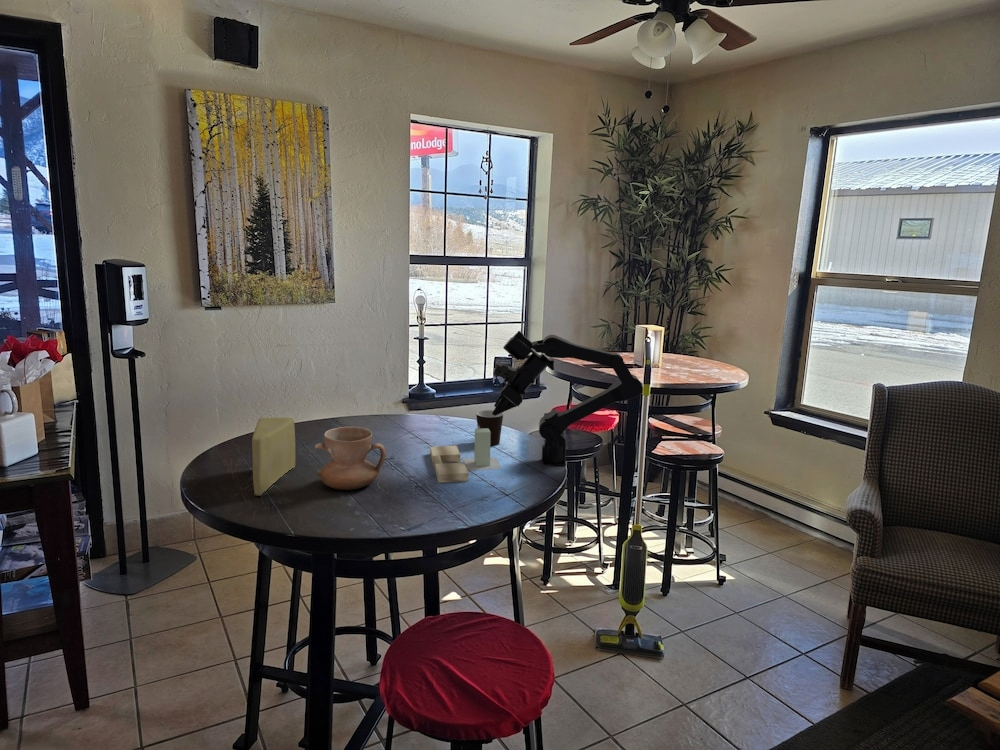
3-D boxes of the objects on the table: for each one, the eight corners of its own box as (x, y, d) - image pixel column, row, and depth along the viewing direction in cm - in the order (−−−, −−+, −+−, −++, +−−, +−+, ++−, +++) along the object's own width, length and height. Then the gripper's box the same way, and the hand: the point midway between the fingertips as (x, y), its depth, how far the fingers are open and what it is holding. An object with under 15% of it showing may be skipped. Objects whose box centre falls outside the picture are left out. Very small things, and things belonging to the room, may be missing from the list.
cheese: (278, 497, 159) (275, 439, 156) (237, 498, 158) (233, 440, 155) (297, 467, 181) (294, 415, 178) (261, 467, 180) (258, 416, 177)
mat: (496, 458, 191) (496, 457, 191) (502, 470, 182) (502, 469, 182) (463, 459, 190) (463, 458, 190) (466, 471, 180) (466, 470, 180)
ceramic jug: (311, 495, 161) (310, 441, 158) (319, 474, 175) (318, 424, 172) (384, 494, 163) (384, 441, 160) (386, 474, 177) (387, 424, 174)
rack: (456, 453, 195) (456, 445, 195) (468, 481, 172) (468, 472, 172) (430, 454, 194) (430, 446, 193) (438, 483, 171) (438, 474, 170)
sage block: (487, 461, 188) (488, 428, 186) (489, 465, 184) (490, 432, 182) (474, 461, 187) (474, 428, 185) (476, 466, 183) (476, 432, 181)
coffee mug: (500, 448, 200) (501, 417, 198) (473, 447, 202) (473, 416, 200) (506, 438, 212) (506, 408, 210) (480, 436, 213) (480, 407, 211)
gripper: (509, 347, 193) (476, 385, 196) (507, 358, 174) (470, 400, 177) (537, 371, 194) (503, 409, 196) (537, 384, 175) (500, 426, 178)
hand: (494, 410), depth 187 cm, fingers open, 9 cm apart
